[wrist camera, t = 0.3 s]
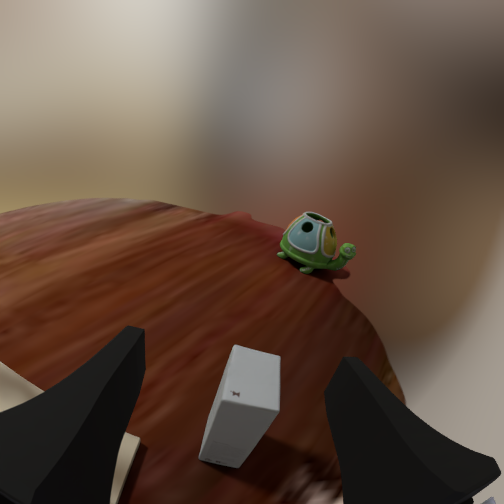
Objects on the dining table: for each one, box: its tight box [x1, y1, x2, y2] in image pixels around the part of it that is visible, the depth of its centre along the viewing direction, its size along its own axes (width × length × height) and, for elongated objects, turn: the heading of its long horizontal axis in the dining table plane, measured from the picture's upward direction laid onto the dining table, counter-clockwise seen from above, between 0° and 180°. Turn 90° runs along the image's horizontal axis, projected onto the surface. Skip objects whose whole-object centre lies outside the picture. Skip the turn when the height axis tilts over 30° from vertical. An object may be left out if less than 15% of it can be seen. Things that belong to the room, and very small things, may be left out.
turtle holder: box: [277, 212, 356, 274], centre depth 68 cm, size 12×18×12 cm
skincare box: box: [199, 345, 280, 468], centre depth 22 cm, size 6×4×12 cm
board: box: [0, 362, 140, 504], centre depth 12 cm, size 20×20×1 cm
